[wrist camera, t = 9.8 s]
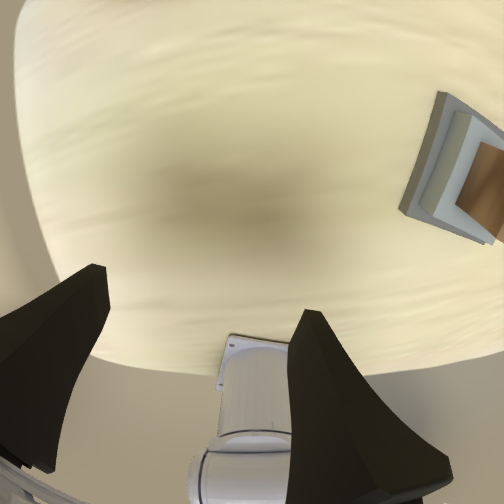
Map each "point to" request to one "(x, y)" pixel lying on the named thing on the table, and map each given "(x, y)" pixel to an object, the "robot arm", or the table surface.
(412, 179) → the gray square platform
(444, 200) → the slate top slab
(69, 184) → the table surface
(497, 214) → the walnut cube
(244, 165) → the table surface
